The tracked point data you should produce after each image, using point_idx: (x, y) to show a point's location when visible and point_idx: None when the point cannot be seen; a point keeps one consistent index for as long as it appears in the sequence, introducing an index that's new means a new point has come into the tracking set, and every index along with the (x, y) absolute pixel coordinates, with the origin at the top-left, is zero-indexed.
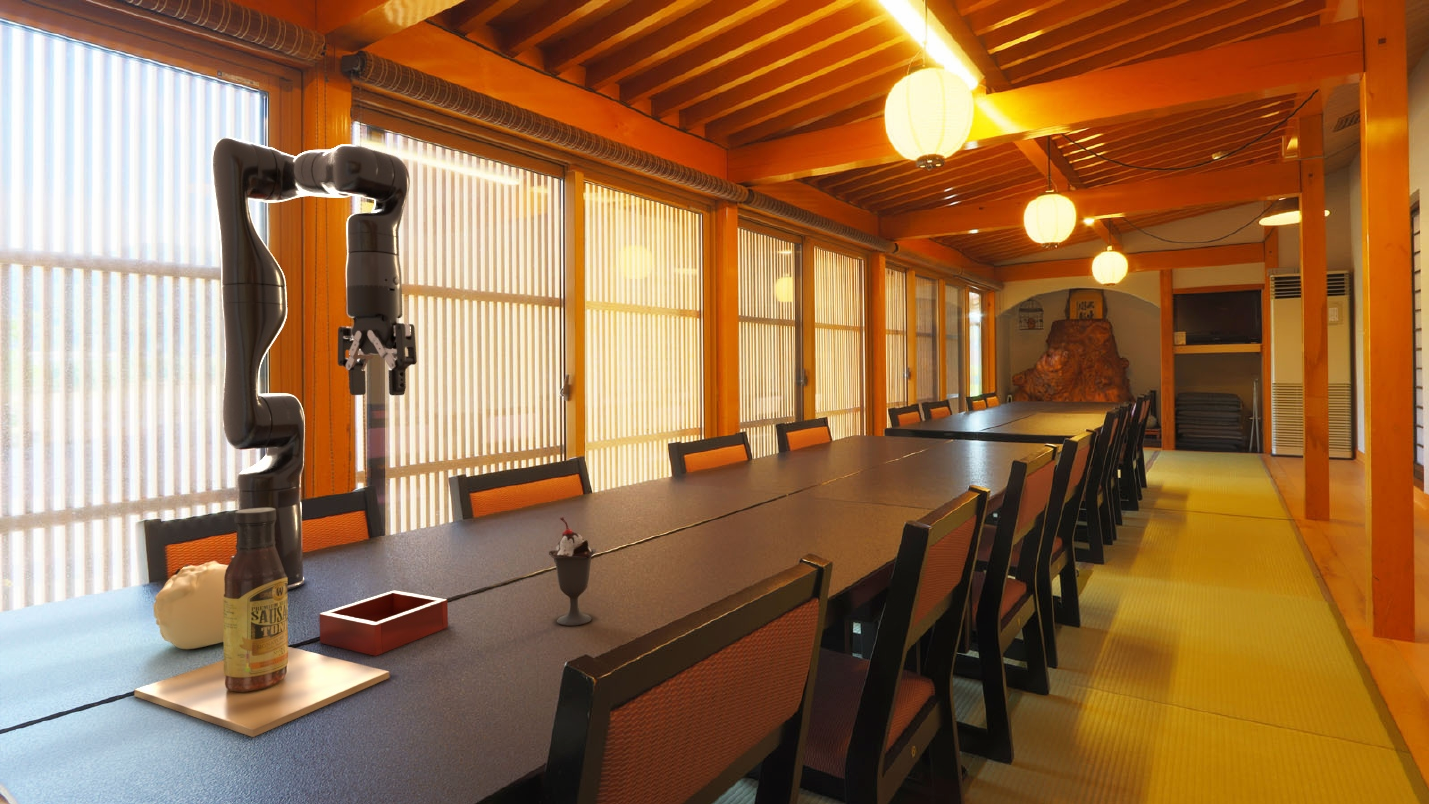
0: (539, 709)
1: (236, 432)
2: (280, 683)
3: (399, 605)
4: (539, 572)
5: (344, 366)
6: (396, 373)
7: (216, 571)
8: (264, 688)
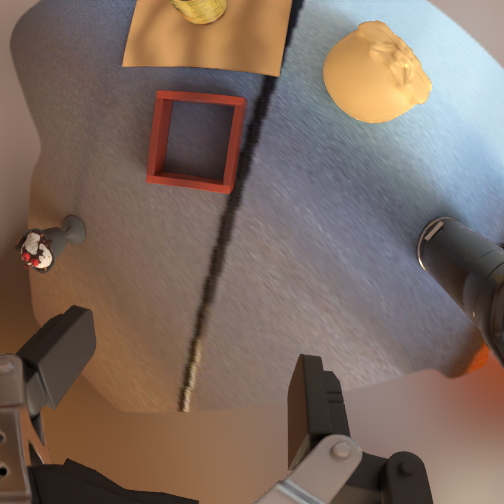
0: (22, 84)
1: None
2: None
3: (214, 181)
4: (194, 354)
5: (383, 458)
6: (24, 352)
7: (366, 59)
8: None
